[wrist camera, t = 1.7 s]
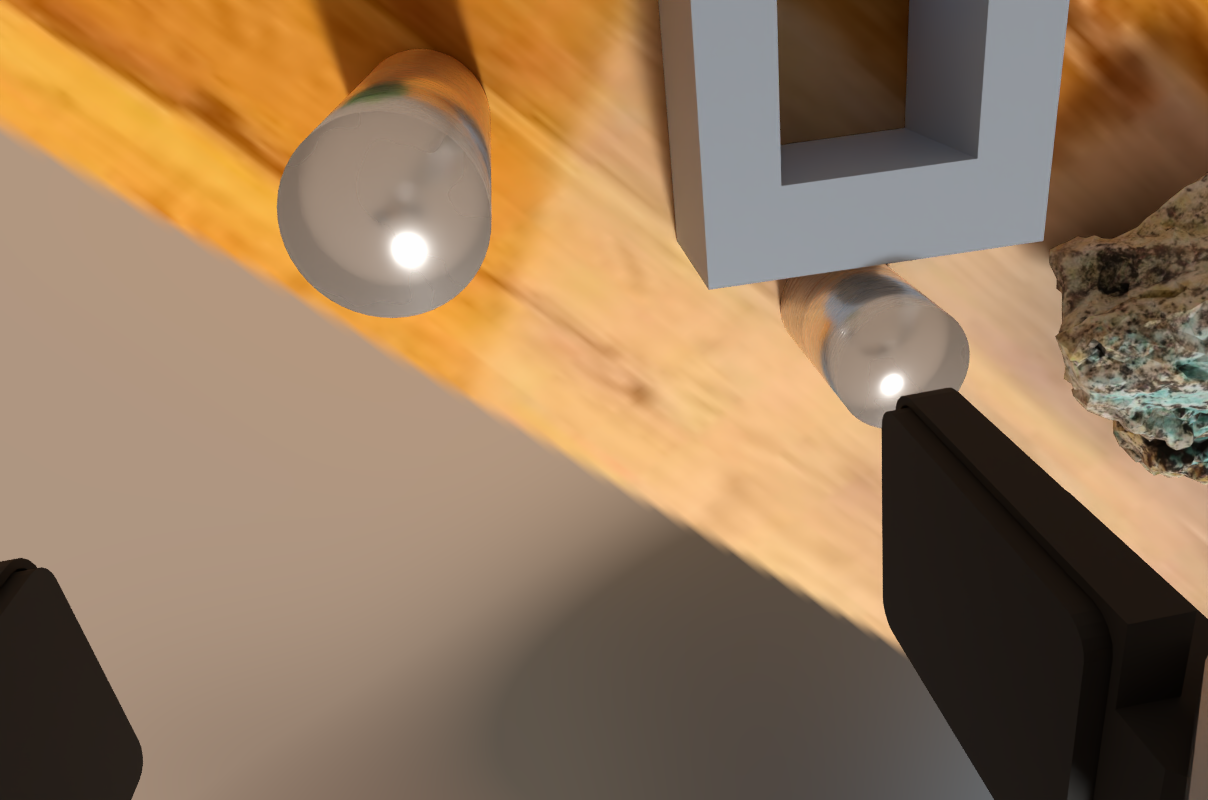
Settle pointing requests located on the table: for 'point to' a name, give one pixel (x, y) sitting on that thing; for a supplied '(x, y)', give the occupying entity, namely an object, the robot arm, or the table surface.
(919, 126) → the hole block
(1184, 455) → the mineral specimen
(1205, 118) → the table surface
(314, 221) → the long pin
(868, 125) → the table surface
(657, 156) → the table surface
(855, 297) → the short pin
